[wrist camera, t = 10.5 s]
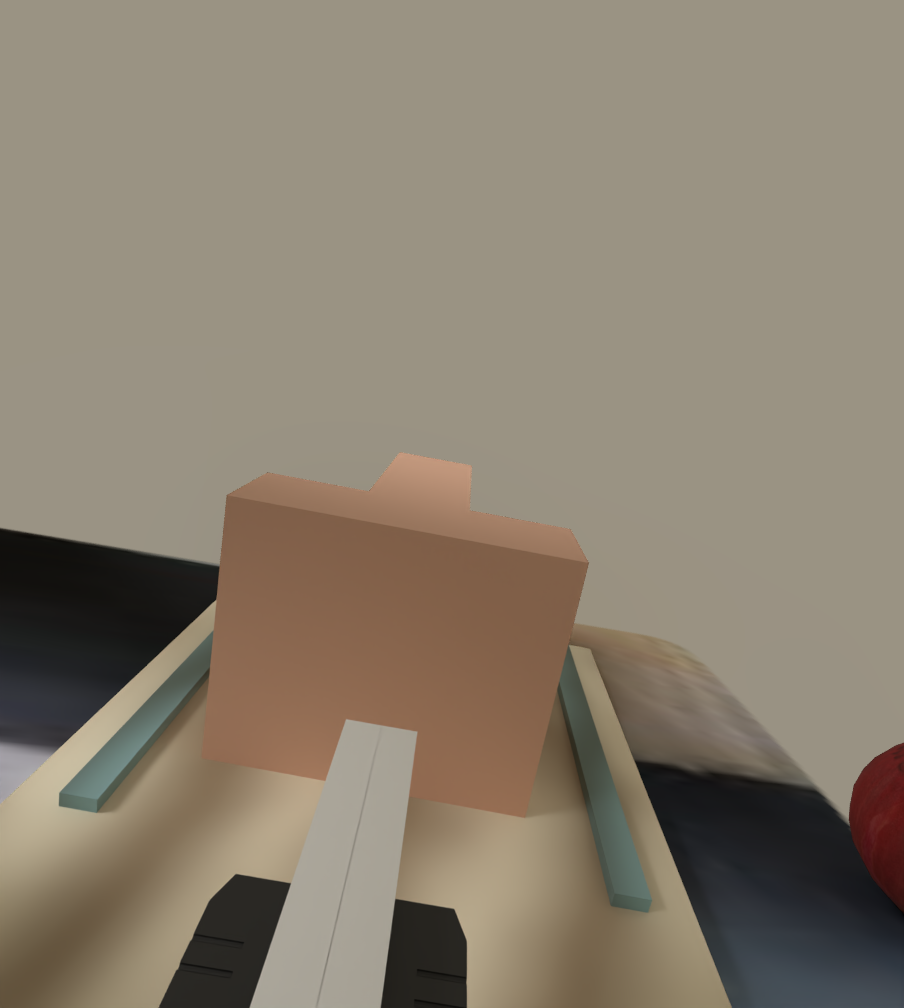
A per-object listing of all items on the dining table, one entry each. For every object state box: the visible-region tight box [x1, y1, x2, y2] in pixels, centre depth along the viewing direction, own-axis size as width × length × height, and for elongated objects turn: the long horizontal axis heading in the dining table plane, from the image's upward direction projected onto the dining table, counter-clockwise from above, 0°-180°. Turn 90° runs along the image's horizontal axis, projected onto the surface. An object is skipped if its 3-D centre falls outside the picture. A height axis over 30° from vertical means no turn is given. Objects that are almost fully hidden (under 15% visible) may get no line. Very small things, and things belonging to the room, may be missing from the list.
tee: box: [201, 452, 589, 818], centre depth 28 cm, size 12×14×10 cm
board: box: [0, 600, 732, 1008], centre depth 20 cm, size 22×36×2 cm, turn 178°
